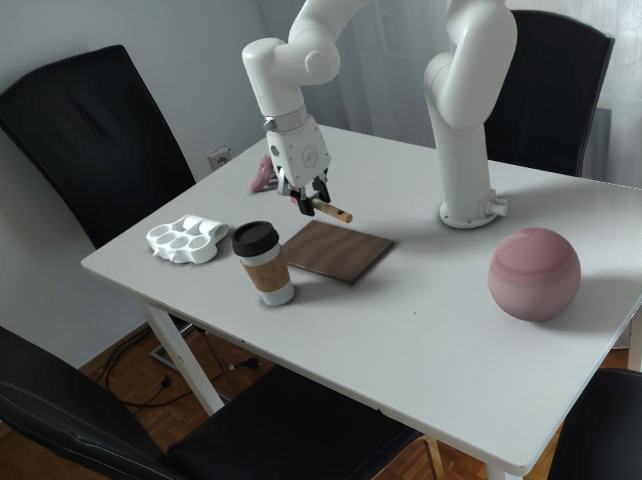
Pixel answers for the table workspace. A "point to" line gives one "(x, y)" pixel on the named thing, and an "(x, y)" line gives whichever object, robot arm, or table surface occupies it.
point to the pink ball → (534, 274)
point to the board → (334, 251)
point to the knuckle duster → (187, 239)
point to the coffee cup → (263, 261)
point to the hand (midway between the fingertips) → (316, 207)
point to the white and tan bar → (323, 206)
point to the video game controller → (263, 174)
